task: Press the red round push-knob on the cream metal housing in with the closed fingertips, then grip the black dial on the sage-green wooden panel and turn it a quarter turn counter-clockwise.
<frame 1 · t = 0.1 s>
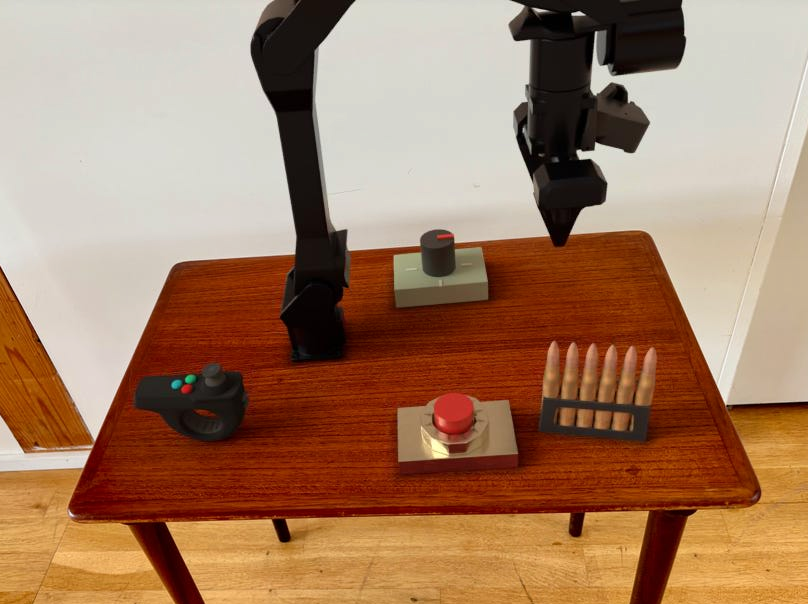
hand: (551, 222, 78), 15 cm above the table, tool pointing down, fingers open, 9 cm apart
ammunition clip: (591, 431, 75), on the table
button housing: (455, 443, 75), on the table
press knob: (454, 413, 72), point 5 cm above the table, slide at 0.1 cm
dial panel: (440, 285, 96), on the table
dial: (438, 252, 92), point 5 cm above the table, hinge at 0.0°
controller: (207, 434, 81), on the table
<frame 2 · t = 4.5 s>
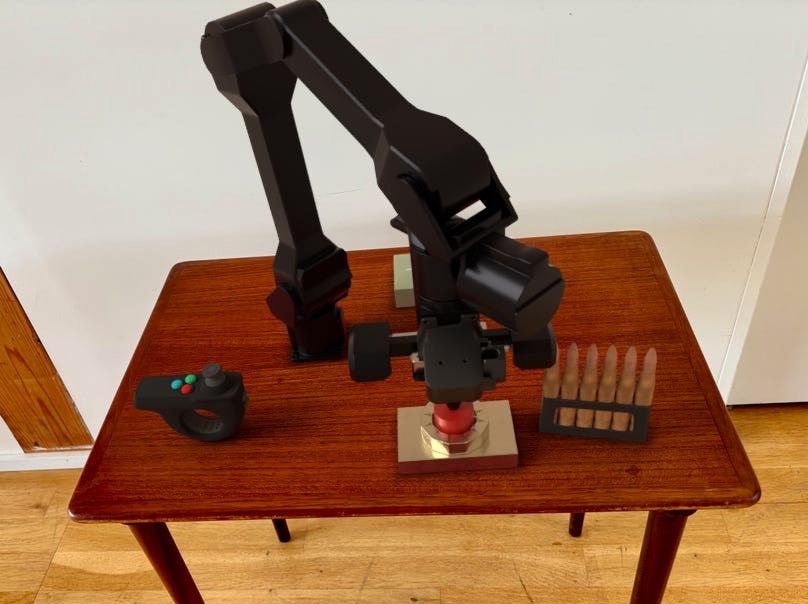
hand: (453, 406, 72), 6 cm above the table, tool pointing down, fingers closed, pressing on press knob
press knob: (454, 414, 72), point 5 cm above the table, slide at 0.0 cm, touching gripper
everything else where it was.
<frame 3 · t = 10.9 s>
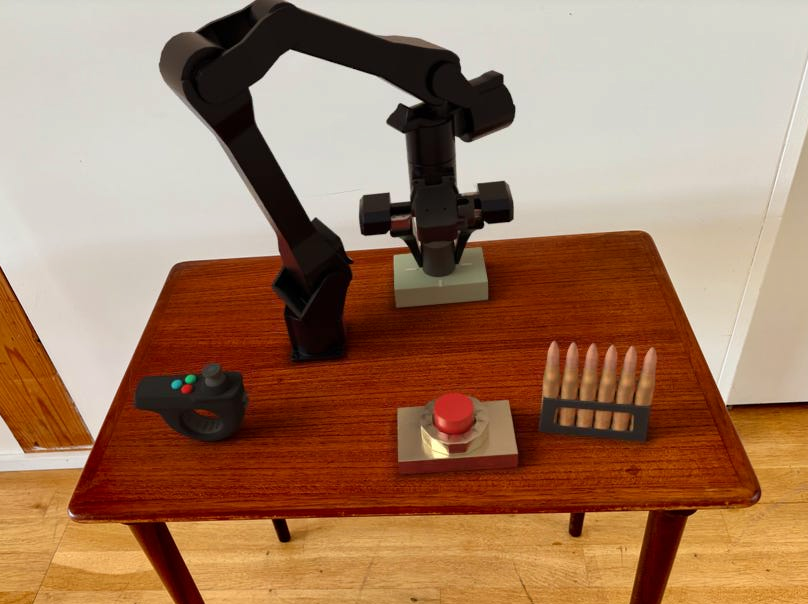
hand: (438, 264, 94), 4 cm above the table, tool pointing down, fingers closed on dial, 4 cm apart
press knob: (454, 413, 72), point 5 cm above the table, slide at 0.1 cm
dial: (438, 252, 92), point 5 cm above the table, hinge at 0.0°, touching gripper
everything else where it was.
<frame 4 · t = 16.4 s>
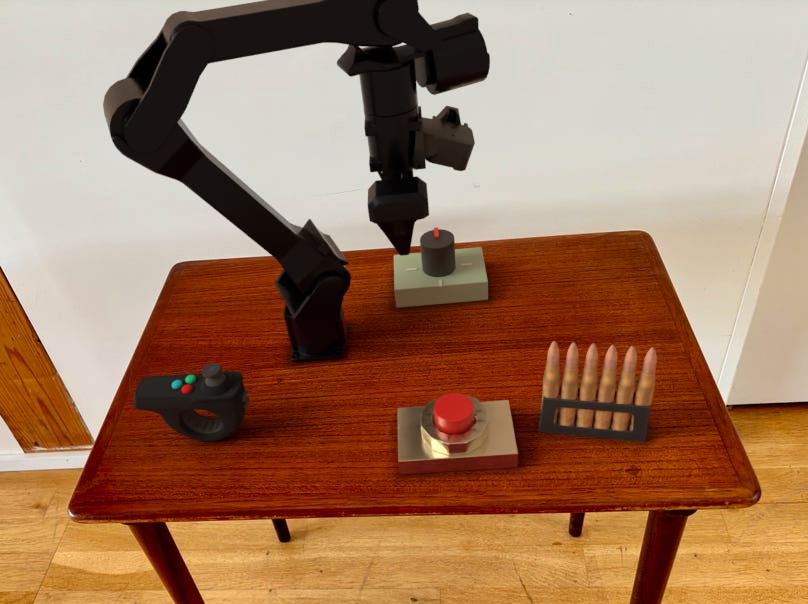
hand: (403, 232, 85), 12 cm above the table, tool pointing down, fingers open, 9 cm apart
dial: (438, 252, 92), point 5 cm above the table, hinge at 90.5°
everything else where it was.
at the end: press knob pushed in 1.1 cm at the most during the clip, back to where it started at the end; press knob slide at 0.1 cm; dial at +90° (first picture: +0°) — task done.
